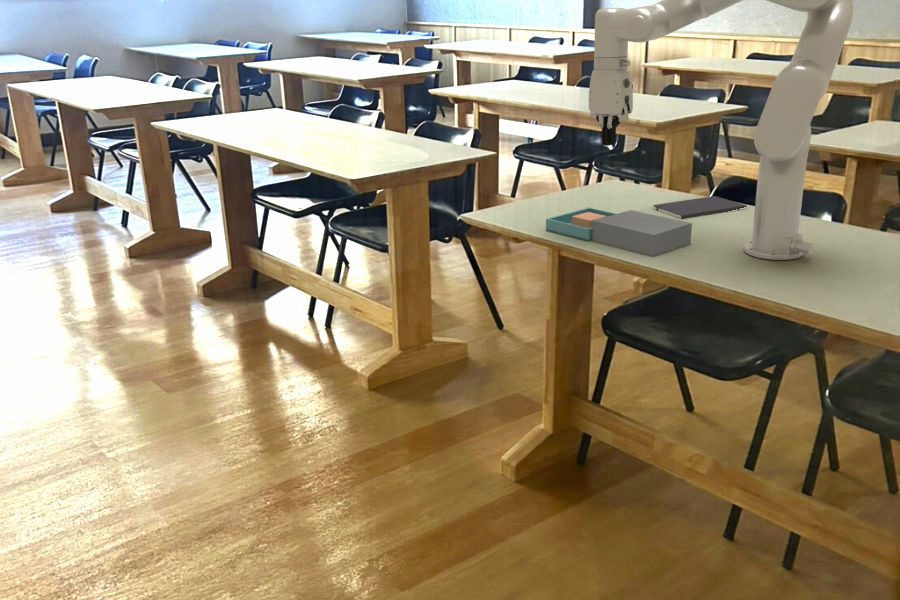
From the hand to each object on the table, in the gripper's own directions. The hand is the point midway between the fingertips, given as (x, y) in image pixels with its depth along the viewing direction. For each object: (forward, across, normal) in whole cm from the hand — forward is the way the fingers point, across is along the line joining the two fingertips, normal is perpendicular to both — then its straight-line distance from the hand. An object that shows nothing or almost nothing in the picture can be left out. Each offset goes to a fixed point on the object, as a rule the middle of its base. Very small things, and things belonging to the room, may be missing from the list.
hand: (608, 144), depth 205 cm
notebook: (+23, -2, -36) cm, 42 cm away
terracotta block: (+18, +5, 0) cm, 19 cm away
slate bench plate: (+22, -11, 0) cm, 24 cm away
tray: (+22, +6, 0) cm, 23 cm away
